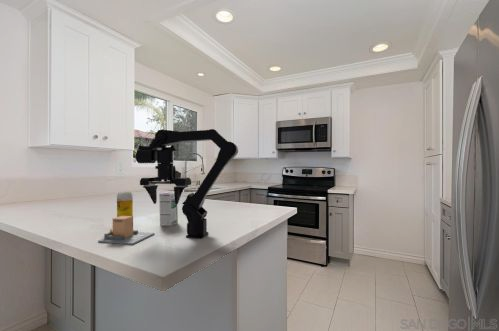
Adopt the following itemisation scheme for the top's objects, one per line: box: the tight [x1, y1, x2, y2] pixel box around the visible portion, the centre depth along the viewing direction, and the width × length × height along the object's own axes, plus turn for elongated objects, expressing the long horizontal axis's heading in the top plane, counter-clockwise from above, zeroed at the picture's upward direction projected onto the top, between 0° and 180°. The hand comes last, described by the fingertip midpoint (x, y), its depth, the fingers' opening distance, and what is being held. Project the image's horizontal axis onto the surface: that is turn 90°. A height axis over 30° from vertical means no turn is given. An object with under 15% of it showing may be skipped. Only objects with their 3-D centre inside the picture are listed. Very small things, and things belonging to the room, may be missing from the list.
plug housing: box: [112, 216, 134, 239], centre depth 87 cm, size 5×5×7 cm
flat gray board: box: [97, 228, 156, 246], centre depth 87 cm, size 14×12×3 cm
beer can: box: [116, 191, 134, 217], centre depth 103 cm, size 6×6×15 cm
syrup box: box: [158, 191, 179, 227], centre depth 106 cm, size 6×6×14 cm
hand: (165, 204), depth 90 cm, fingers open, 9 cm apart
